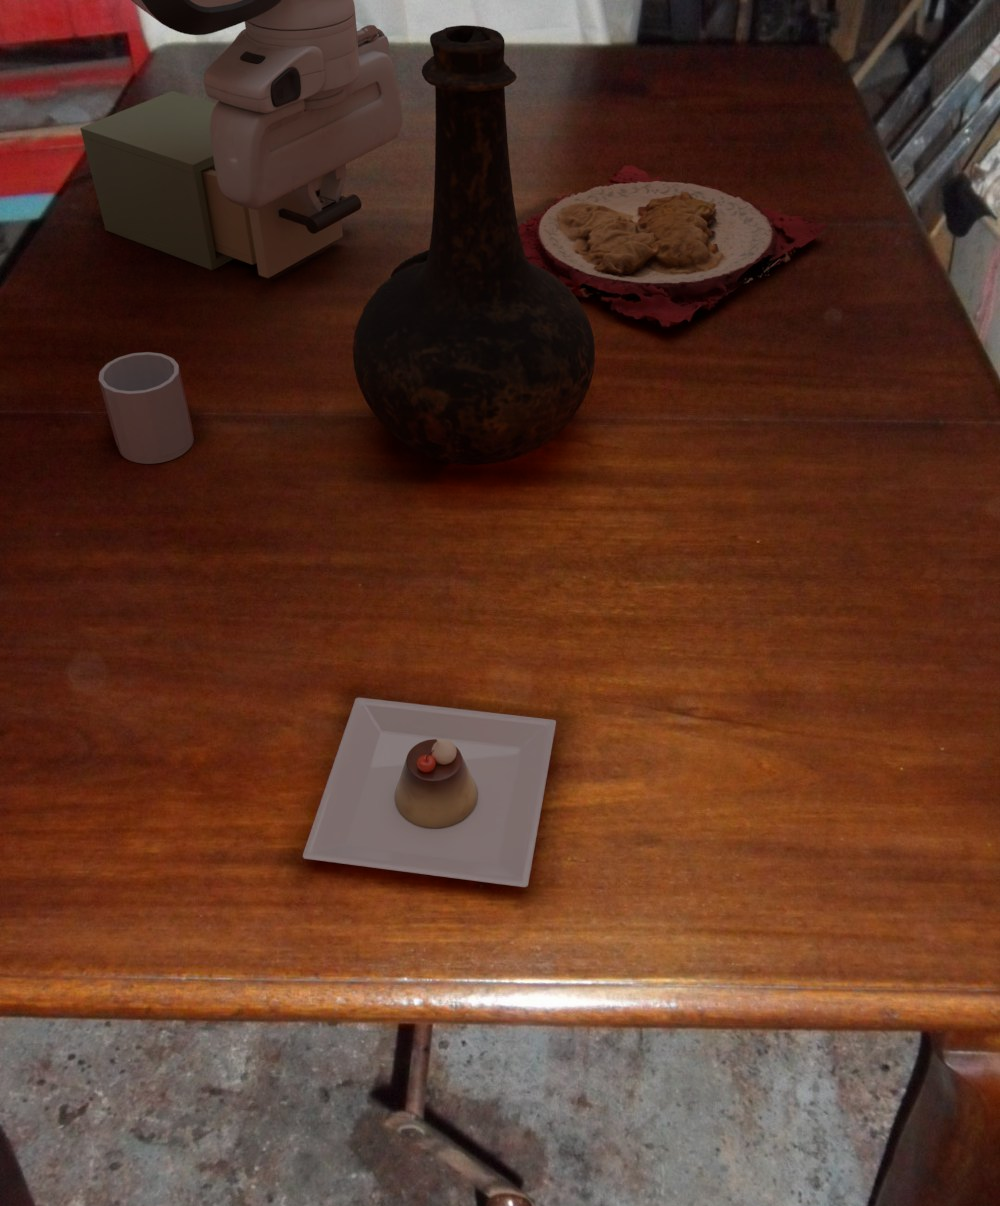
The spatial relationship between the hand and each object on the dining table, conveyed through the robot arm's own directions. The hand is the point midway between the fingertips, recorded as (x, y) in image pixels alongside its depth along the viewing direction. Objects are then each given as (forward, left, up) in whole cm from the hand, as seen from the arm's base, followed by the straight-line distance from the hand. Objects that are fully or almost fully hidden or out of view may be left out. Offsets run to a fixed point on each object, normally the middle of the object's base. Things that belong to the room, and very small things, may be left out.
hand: (323, 221), depth 107 cm
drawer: (-7, 0, -4) cm, 8 cm away
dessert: (+47, -44, -5) cm, 64 cm away
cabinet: (-16, 0, -5) cm, 17 cm away
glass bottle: (+27, -13, -5) cm, 30 cm away
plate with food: (+22, +21, -5) cm, 30 cm away
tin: (+8, -29, -5) cm, 30 cm away
